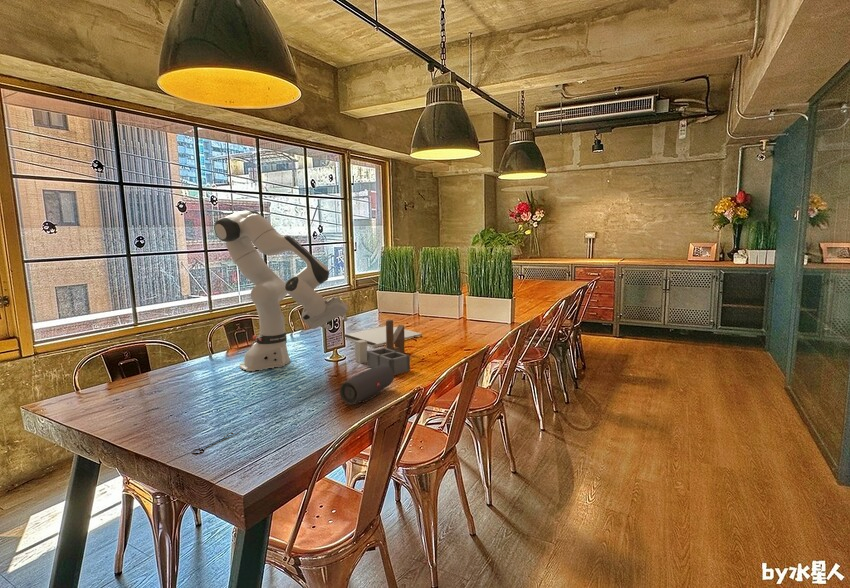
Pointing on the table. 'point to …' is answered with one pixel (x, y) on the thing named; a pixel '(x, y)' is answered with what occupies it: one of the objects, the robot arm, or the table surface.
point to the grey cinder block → (389, 360)
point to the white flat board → (377, 336)
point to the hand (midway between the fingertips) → (338, 324)
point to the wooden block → (394, 337)
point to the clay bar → (361, 351)
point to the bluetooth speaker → (366, 384)
